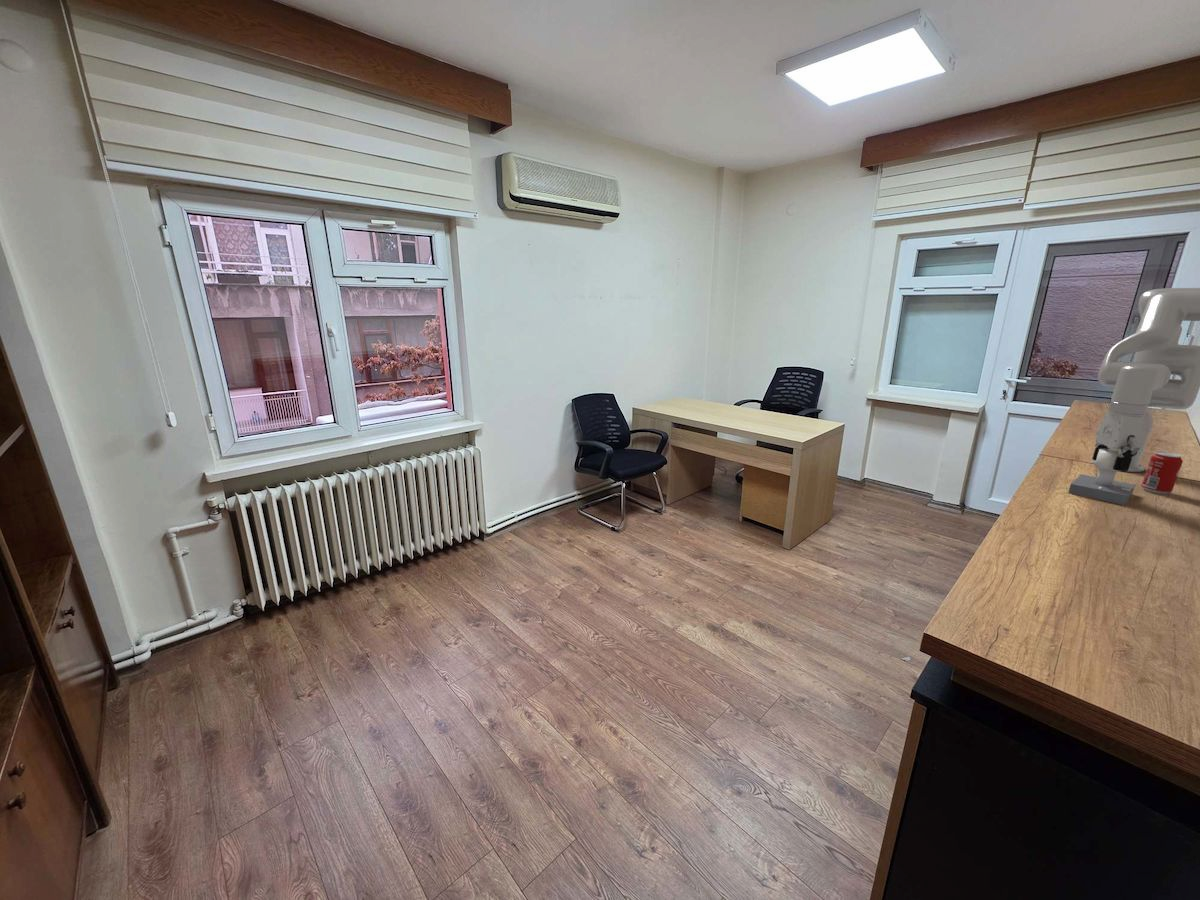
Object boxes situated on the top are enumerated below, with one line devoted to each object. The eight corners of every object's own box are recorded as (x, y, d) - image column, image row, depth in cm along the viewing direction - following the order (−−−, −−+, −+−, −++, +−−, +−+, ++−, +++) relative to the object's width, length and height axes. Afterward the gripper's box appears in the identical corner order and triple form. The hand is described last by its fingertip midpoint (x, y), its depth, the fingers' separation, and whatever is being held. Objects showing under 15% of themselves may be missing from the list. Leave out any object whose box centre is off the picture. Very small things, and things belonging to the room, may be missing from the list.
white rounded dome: (1090, 466, 145) (1095, 449, 144) (1100, 463, 148) (1105, 446, 146) (1116, 472, 140) (1122, 454, 138) (1127, 469, 142) (1132, 452, 141)
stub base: (1078, 483, 155) (1085, 459, 153) (1132, 494, 146) (1140, 469, 143) (1068, 493, 147) (1075, 468, 144) (1124, 505, 138) (1133, 479, 135)
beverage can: (1177, 495, 145) (1191, 457, 141) (1156, 495, 145) (1169, 457, 142) (1154, 487, 151) (1167, 451, 147) (1134, 487, 151) (1146, 450, 148)
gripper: (1092, 402, 148) (1076, 455, 153) (1131, 414, 132) (1112, 473, 137) (1123, 404, 145) (1106, 458, 150) (1166, 416, 130) (1146, 475, 135)
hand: (1109, 465), depth 144 cm, fingers open, 9 cm apart
